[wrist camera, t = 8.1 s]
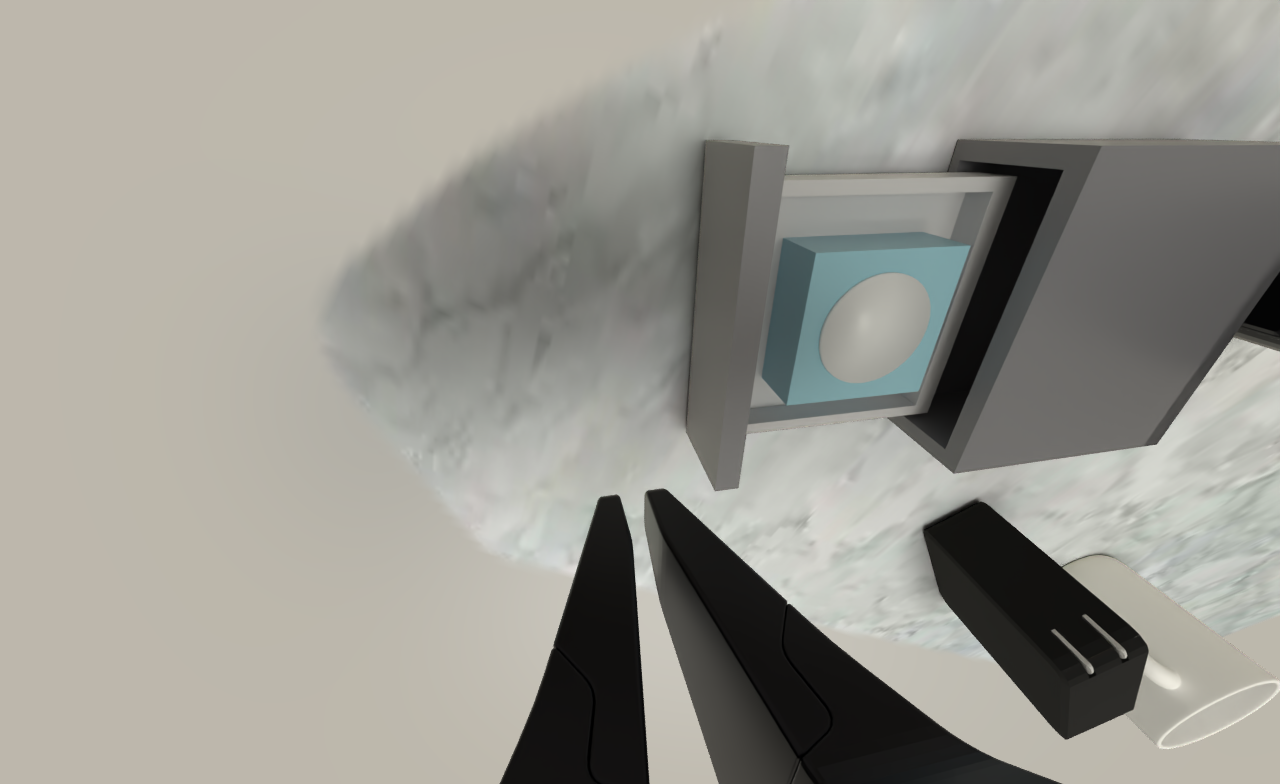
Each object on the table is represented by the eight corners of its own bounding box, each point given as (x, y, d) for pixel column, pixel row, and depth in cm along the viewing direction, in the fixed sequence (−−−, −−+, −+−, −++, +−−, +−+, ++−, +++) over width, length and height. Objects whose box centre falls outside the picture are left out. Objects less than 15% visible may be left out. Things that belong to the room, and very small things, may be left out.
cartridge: (922, 231, 18) (974, 246, 16) (882, 365, 21) (921, 393, 19) (783, 237, 17) (818, 253, 15) (761, 377, 20) (788, 407, 18)
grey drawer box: (1178, 139, 20) (1369, 144, 15) (1048, 388, 26) (1156, 444, 22) (958, 139, 18) (1102, 145, 13) (874, 407, 24) (953, 473, 20)
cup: (1047, 625, 42) (1178, 754, 34) (985, 595, 37) (1121, 738, 28) (1129, 567, 40) (1294, 691, 31) (1074, 526, 34) (1254, 660, 26)
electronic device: (940, 597, 36) (1065, 745, 27) (920, 525, 30) (1068, 681, 22) (990, 572, 35) (1133, 714, 27) (979, 495, 30) (1153, 642, 22)
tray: (981, 139, 18) (1091, 144, 14) (891, 408, 24) (953, 458, 21) (705, 140, 16) (754, 145, 12) (686, 432, 22) (714, 491, 19)
